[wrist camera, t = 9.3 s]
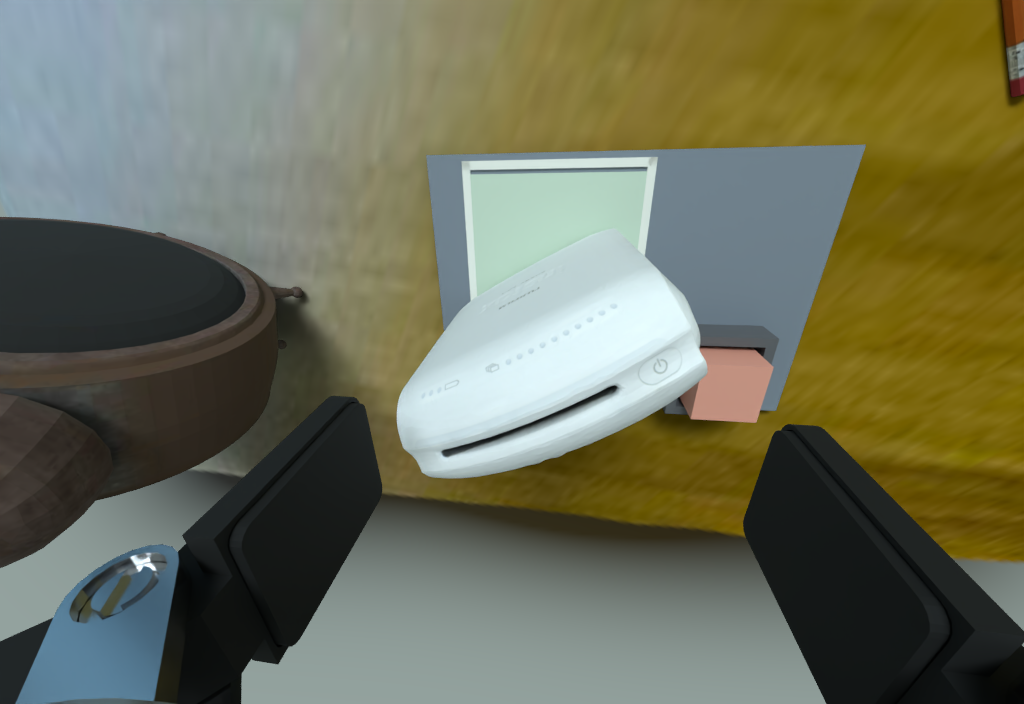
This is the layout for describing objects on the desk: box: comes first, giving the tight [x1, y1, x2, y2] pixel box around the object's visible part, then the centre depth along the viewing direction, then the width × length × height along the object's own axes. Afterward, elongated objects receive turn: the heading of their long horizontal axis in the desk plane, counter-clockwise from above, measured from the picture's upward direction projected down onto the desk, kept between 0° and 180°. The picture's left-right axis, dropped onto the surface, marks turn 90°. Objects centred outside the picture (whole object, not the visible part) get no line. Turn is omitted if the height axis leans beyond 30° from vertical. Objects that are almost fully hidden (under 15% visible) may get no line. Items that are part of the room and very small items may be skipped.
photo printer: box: [397, 228, 708, 478], centre depth 16 cm, size 10×4×12 cm, turn 120°
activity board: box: [426, 145, 866, 415], centre depth 20 cm, size 20×14×2 cm
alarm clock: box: [0, 217, 303, 568], centre depth 15 cm, size 15×7×20 cm, turn 70°
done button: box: [680, 346, 774, 423], centre depth 20 cm, size 3×3×2 cm
